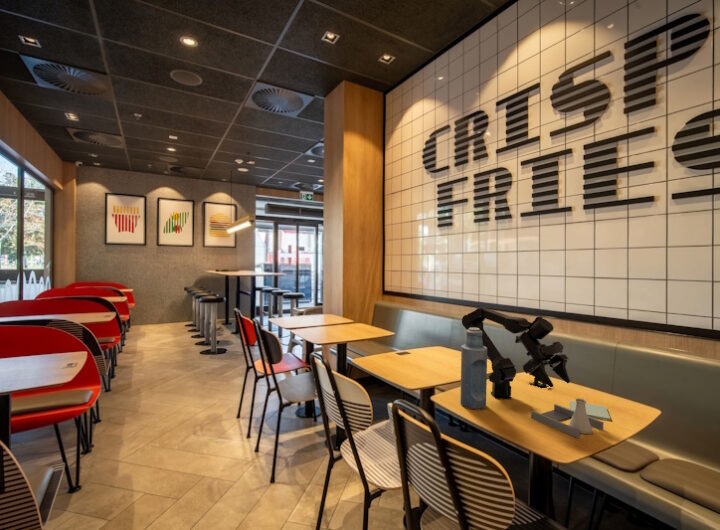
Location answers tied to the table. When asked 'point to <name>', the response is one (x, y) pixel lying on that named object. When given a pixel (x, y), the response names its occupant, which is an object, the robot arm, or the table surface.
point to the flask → (581, 418)
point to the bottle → (473, 370)
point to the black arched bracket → (538, 383)
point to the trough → (559, 415)
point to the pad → (593, 410)
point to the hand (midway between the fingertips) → (560, 384)
